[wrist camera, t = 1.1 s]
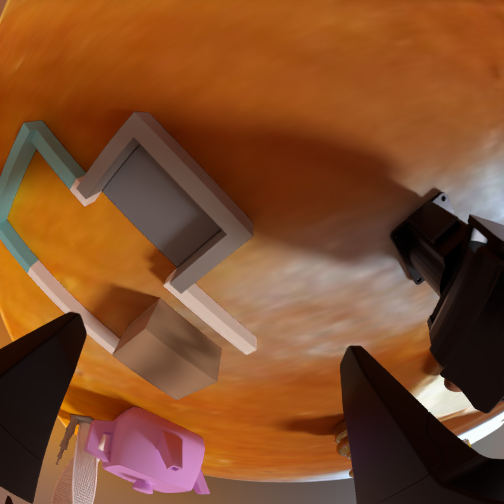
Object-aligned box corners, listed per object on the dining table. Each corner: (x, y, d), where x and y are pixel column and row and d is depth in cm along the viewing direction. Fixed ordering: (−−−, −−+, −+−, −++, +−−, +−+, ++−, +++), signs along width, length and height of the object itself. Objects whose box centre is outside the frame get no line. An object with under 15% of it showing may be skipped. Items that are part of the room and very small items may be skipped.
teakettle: (93, 395, 33) (67, 457, 22) (193, 411, 32) (179, 489, 21) (133, 442, 40) (119, 491, 29) (215, 453, 40) (209, 509, 28)
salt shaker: (386, 412, 33) (402, 464, 24) (358, 434, 36) (369, 482, 27) (351, 411, 32) (364, 470, 23) (323, 433, 35) (331, 486, 26)
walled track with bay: (320, 297, 23) (325, 315, 21) (171, 384, 29) (167, 400, 27) (89, 53, 14) (71, 48, 12) (-1, 219, 20) (-15, 227, 18)
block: (222, 347, 26) (217, 381, 22) (184, 368, 28) (176, 400, 24) (161, 296, 24) (145, 328, 20) (128, 324, 25) (111, 354, 21)
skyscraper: (95, 417, 37) (56, 537, 11) (121, 438, 40) (92, 549, 15) (70, 414, 38) (31, 519, 13) (95, 434, 41) (64, 533, 16)
